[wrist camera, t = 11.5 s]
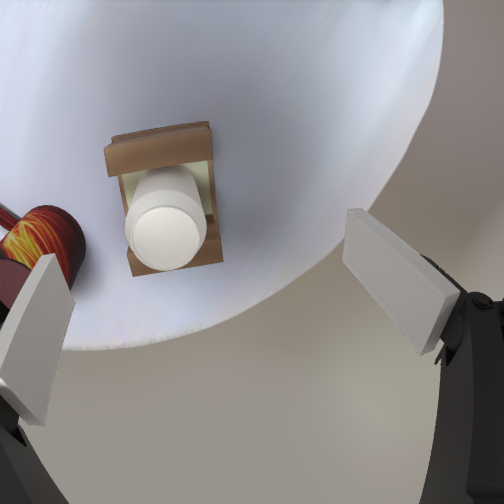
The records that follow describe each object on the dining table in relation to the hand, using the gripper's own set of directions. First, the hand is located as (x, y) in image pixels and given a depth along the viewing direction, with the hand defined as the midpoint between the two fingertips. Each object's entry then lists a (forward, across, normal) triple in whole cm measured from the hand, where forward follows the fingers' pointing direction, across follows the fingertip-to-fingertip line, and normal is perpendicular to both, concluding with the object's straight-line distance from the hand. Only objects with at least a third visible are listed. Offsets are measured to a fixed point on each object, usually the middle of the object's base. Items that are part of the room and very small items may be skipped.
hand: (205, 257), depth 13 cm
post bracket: (+21, -2, -3) cm, 22 cm away
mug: (+21, -20, -7) cm, 30 cm away
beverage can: (+20, -2, -3) cm, 21 cm away
